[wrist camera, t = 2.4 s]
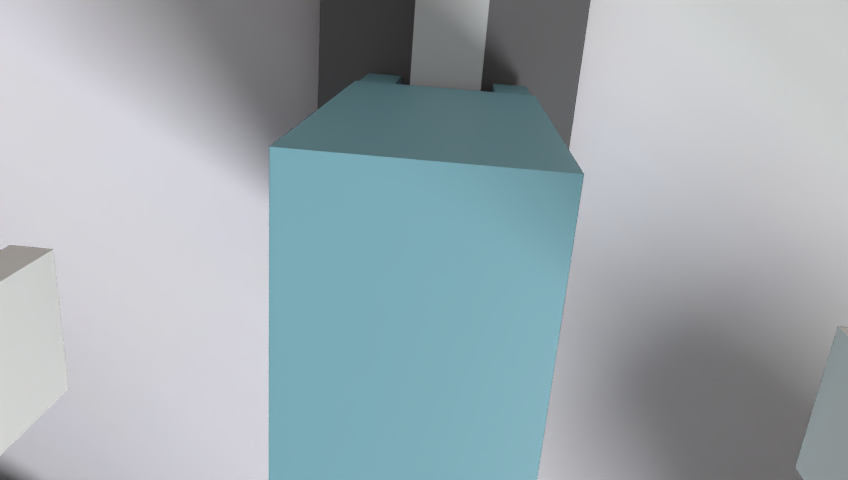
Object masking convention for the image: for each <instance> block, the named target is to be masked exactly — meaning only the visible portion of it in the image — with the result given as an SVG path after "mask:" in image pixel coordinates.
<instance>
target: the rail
mask: <svg viewBox="0 0 848 480" xmlns="http://www.w3.org/2000/svg"><path fill="white" fill-rule="evenodd" d="M589 7H590V0H321V2H320V43H319V83H318V109H319V108H321V107H322V106H323V105H324V104H326V103H327V102H328V101H330V100H331V99H332V98H334V97H335V96H336V95H337V94H339V93H340V92H341V91H343V90H344V89H345V88H347V87H348V86H349V85H350V84H352V83H353V82H354V81H360V80H361V79H362V78H363V77H365V76H366V75H367V74H368V73H372V74H384V75H396V76H401V84H402V85H414V86H426V87H438V88H450V89H462V90H474V91H485V92H492V89H493V84H504V85H516V86H526V87H527V89H528V91H529V92H530V94H531V95H533V96H535V97H536V98H537V100H538V101H539V103H540V105H541V106H542V108H543V109H544V111H545V113H546V114H547V116H548V117H549V119H550V121H551V122H552V124H553V125H554V127H555V129H556V130H557V132H558V133H559V135H560V137H561V138H562V140H563V141H564V143H565V145H566V146H567V148H568V149H569V145H570V138H571V131H572V124H573V117H574V110H575V103H576V96H577V89H578V82H579V76H580V69H581V62H582V55H583V48H584V41H585V34H586V27H587V20H588V13H589Z"/></svg>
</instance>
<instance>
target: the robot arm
mask: <svg viewBox="0 0 848 480" xmlns="http://www.w3.org/2000/svg"><path fill="white" fill-rule="evenodd" d="M68 389H69V387H68V378H67V369H66V359H65V350H64V341H63V332H62V323H61V314H60V305H59V296H58V286H57V277H56V268H55V259H54V250H53V249H46V248H36V247H26V246H16V245H9V246H7V247H5V248H4V249H2V250H0V455H2V454H3V453H4V452H5V451H6V450H7V449H8V448H9V447H10V446H11V445H12V444H13V443H14V442H15V441H16V440H17V439H18V438H19V437H20V436H21V435H22V434H23V433H24V432H25V431H26V430H27V429H28V428H29V427H30V426H31V425H32V424H33V423H34V422H35V421H36V420H38V419H39V418H40V417H41V416H42V415H43V414H44V413H45V412H46V411H47V410H48V409H49V408H50V407H51V406H52V405H53V404H54V403H55V402H56V401H57V400H58V399H59V398H60V397H61V396H62V395H63V394H64V393H65V392H66V391H67V390H68ZM795 468H796V470H797V471H798V473H799V474H800V476H801V477H802V479H803V480H848V328H847V327H837V331H836V334H835V337H834V341H833V344H832V347H831V351H830V354H829V357H828V361H827V364H826V367H825V370H824V374H823V377H822V380H821V384H820V387H819V390H818V394H817V397H816V400H815V404H814V407H813V410H812V413H811V417H810V420H809V423H808V427H807V430H806V433H805V437H804V440H803V443H802V447H801V450H800V453H799V456H798V460H797V463H796V466H795Z"/></svg>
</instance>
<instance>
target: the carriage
mask: <svg viewBox="0 0 848 480" xmlns="http://www.w3.org/2000/svg"><path fill="white" fill-rule="evenodd" d="M583 177H584V173H583V172H582V170H581V169H580V167H579V165H578V164H577V162H576V161H575V159H574V157H573V156H572V154H571V153H570V151H569V149H568V148H567V146H566V145H565V143H564V141H563V140H562V138H561V137H560V135H559V133H558V132H557V130H556V129H555V127H554V125H553V124H552V122H551V121H550V119H549V117H548V116H547V114H546V113H545V111H544V109H543V108H542V106H541V105H540V103H539V101H538V100H537V98H536V97H535V96H533V95H531V94H530V92H529V91H528V89H527V87H526V86H516V85H504V84H493V89H492V92H485V91H474V90H462V89H450V88H438V87H426V86H414V85H402V84H401V76H396V75H384V74H372V73H368V74H367V75H366V76H365V77H363V78H362V79H361V80H360V81H354V82H353V83H352V84H350V85H349V86H348V87H347V88H345V89H344V90H343V91H341V92H340V93H339V94H337V95H336V96H335V97H334V98H332V99H331V100H330V101H328V102H327V103H326V104H324V105H323V106H322V107H321V108H319V109H318V110H317V111H315V112H314V113H313V114H311V115H310V116H309V117H307V118H306V119H305V120H304V121H302V122H301V123H300V124H298V125H297V126H296V127H294V128H293V129H292V130H291V131H289V132H288V133H287V134H285V135H284V136H283V137H281V138H280V139H279V140H278V141H276V142H275V143H274V144H272V145H271V146H270V147H269V480H537V476H538V470H539V463H540V457H541V450H542V444H543V437H544V431H545V424H546V418H547V411H548V405H549V398H550V392H551V385H552V379H553V372H554V366H555V359H556V353H557V346H558V340H559V333H560V327H561V320H562V314H563V307H564V301H565V294H566V288H567V281H568V275H569V268H570V262H571V255H572V249H573V242H574V236H575V229H576V223H577V216H578V210H579V203H580V197H581V190H582V184H583Z"/></svg>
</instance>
